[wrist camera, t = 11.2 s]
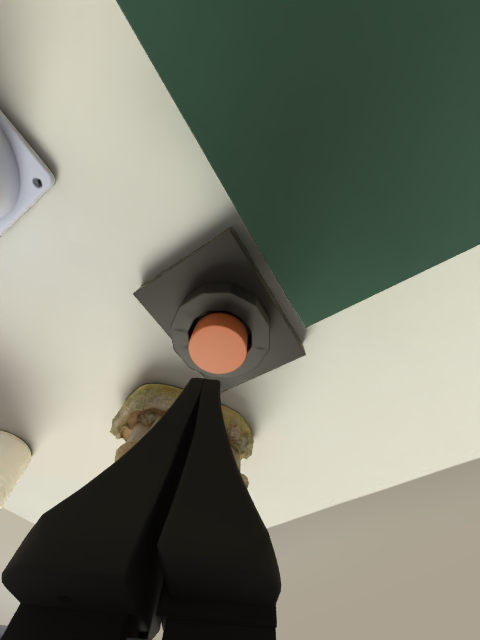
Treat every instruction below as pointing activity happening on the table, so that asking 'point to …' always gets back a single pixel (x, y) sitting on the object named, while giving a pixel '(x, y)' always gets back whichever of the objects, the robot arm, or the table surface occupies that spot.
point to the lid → (332, 130)
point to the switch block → (222, 307)
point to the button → (218, 343)
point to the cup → (11, 463)
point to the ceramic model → (154, 403)
